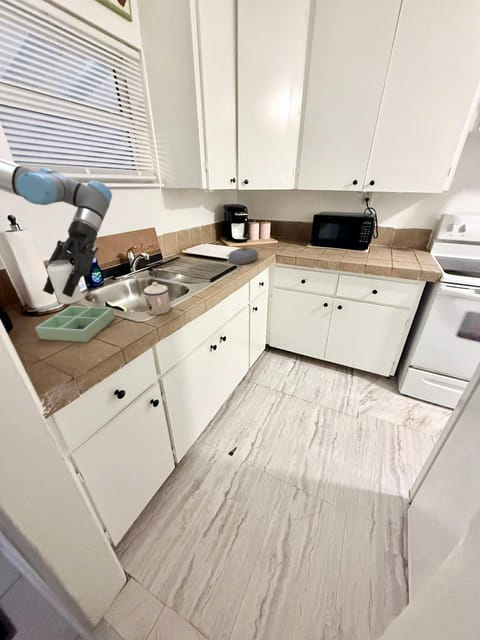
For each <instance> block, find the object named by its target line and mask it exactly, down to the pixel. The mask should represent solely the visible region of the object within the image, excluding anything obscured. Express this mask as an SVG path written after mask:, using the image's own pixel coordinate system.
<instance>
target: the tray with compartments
mask: <svg viewBox="0 0 480 640" xmlns="http://www.w3.org/2000/svg"><path fill="white" fill-rule="evenodd" d="M115 319H116V317H115V313H114V310H113V307H98V306H80V305H79V306H77V305H70V306H68V307H66V308H64V309H63V310H61V311H60V312H58V313H56V314H55V315H53V316H52V317H50V318H48V319H46V320H44V321H43V322H42V323H39V325H36V326H35V327H34V329H35V331H36V334H37V336H38V339H39V340H49V341H65V342H81V343H88V342H89V341H90V340H92V339H93V338H94V337H95V336H96V335H98V333H100V332H101V331H102V330H103V329H105V327H107V326H108V325H109V324H110V323H112V322H113V321H114V320H115Z"/></svg>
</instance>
